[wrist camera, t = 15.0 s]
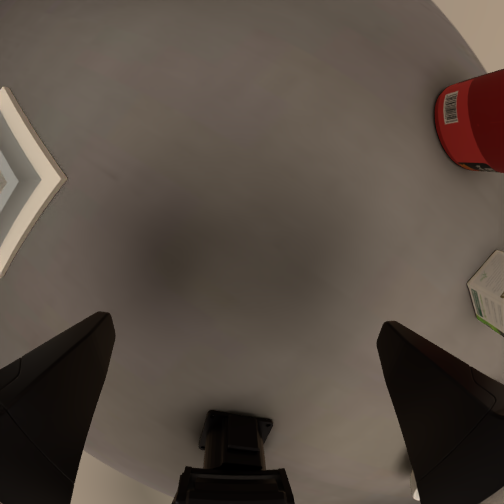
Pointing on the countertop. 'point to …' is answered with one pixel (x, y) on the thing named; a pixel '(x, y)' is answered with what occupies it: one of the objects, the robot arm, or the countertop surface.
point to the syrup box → (489, 292)
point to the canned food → (473, 122)
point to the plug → (2, 182)
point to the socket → (22, 178)
